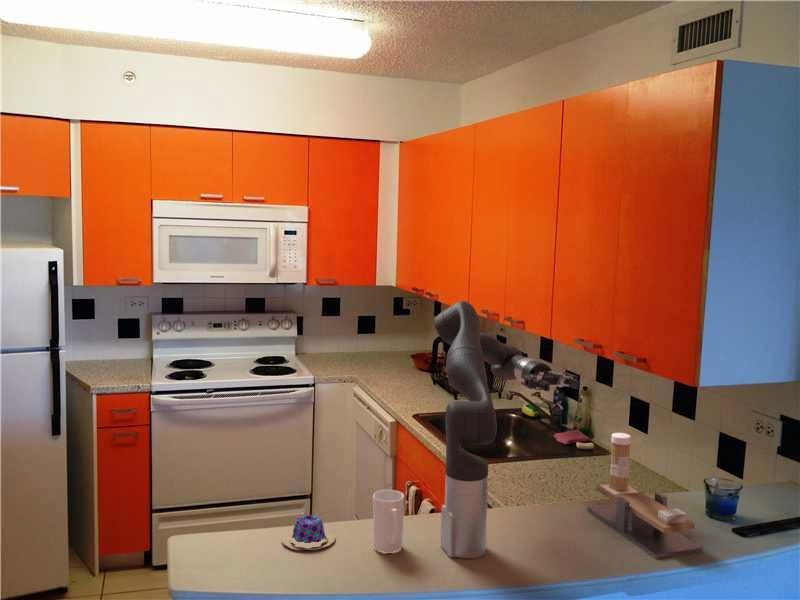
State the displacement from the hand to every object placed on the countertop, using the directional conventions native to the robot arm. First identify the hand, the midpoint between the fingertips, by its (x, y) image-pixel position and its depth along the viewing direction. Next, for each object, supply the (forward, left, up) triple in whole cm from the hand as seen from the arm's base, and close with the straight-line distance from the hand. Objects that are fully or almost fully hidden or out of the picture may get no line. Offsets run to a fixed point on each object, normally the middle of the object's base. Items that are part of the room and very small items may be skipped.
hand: (563, 386), depth 185 cm
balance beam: (+9, -22, -24) cm, 34 cm away
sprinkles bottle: (+9, -13, -23) cm, 28 cm away
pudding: (-67, -6, -30) cm, 74 cm away
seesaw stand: (+9, -22, -30) cm, 38 cm away
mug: (-51, -16, -30) cm, 61 cm away
